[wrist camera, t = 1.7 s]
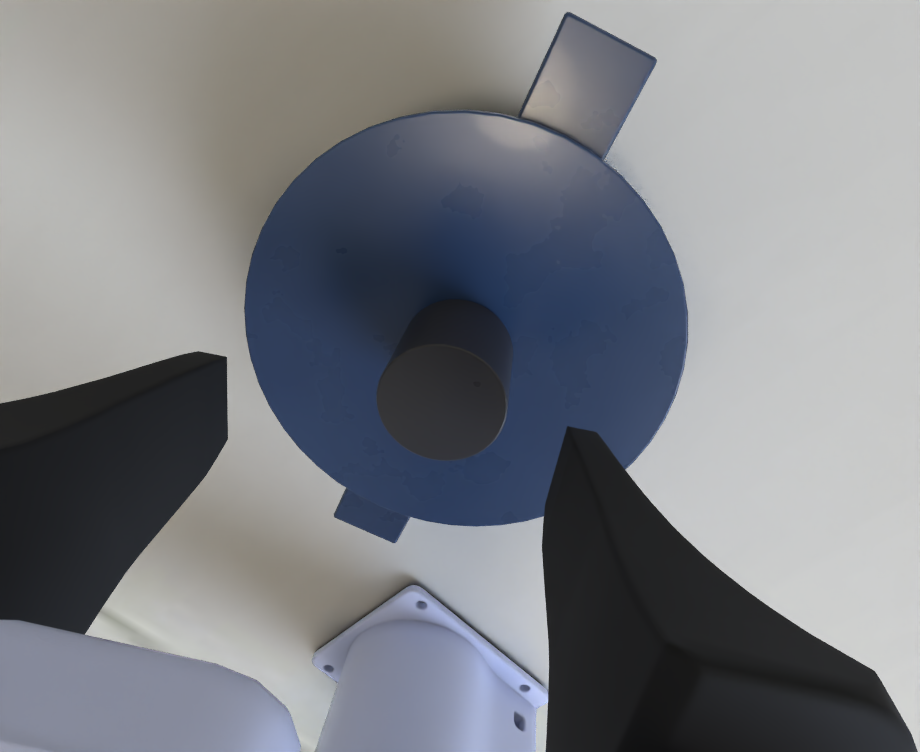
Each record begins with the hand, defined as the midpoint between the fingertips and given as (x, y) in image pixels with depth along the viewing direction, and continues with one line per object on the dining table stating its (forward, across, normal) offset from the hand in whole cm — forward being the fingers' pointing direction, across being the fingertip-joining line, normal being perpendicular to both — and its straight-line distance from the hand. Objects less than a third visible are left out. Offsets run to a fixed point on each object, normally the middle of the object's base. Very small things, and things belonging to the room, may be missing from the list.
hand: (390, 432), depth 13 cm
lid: (+5, -1, 0) cm, 5 cm away
